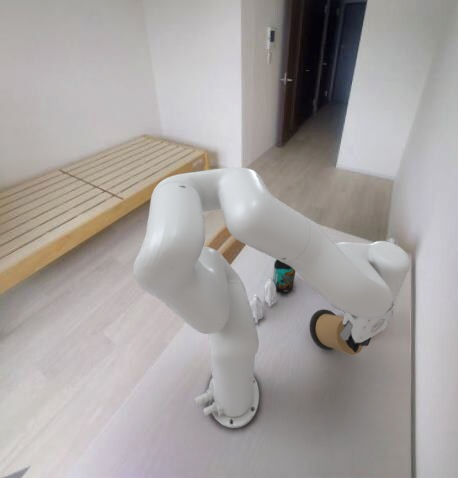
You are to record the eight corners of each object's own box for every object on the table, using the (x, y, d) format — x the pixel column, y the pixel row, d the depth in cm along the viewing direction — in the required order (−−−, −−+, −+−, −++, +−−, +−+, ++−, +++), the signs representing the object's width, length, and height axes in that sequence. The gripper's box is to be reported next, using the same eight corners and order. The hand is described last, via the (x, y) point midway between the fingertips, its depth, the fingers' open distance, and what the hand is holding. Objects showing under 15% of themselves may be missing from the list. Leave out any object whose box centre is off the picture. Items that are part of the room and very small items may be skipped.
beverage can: (291, 297, 90) (295, 272, 84) (270, 291, 92) (272, 267, 87) (294, 280, 96) (297, 256, 90) (274, 275, 98) (276, 251, 92)
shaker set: (270, 291, 92) (272, 268, 87) (280, 299, 90) (283, 276, 84) (246, 315, 85) (247, 291, 80) (256, 324, 82) (258, 301, 77)
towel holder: (360, 374, 59) (340, 326, 62) (318, 356, 74) (304, 317, 77) (391, 353, 63) (371, 309, 66) (345, 340, 78) (331, 303, 80)
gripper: (359, 325, 51) (342, 374, 60) (417, 293, 57) (393, 343, 66) (332, 293, 58) (319, 342, 66) (386, 268, 63) (368, 316, 72)
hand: (356, 342), depth 66 cm, fingers closed on towel holder, 2 cm apart
